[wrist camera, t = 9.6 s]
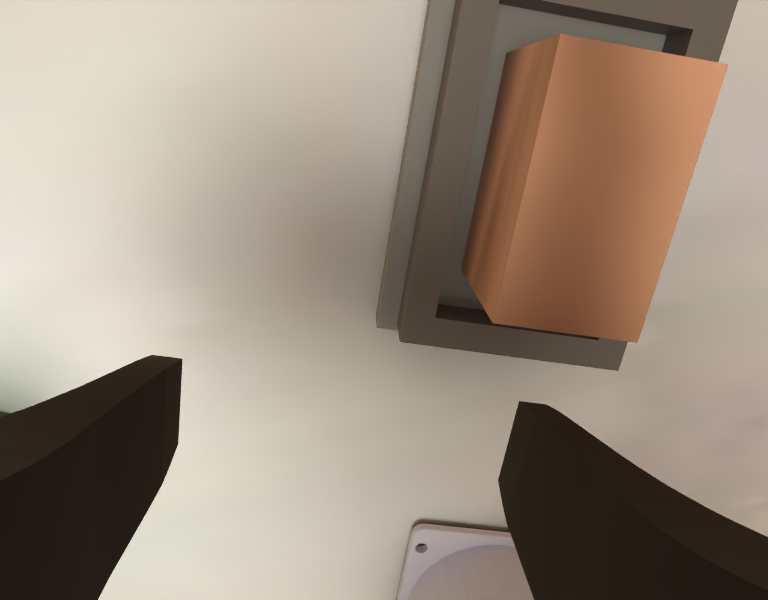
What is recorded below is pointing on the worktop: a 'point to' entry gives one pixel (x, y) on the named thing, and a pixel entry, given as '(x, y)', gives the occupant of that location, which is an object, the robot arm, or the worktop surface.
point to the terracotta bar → (585, 183)
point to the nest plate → (467, 151)
